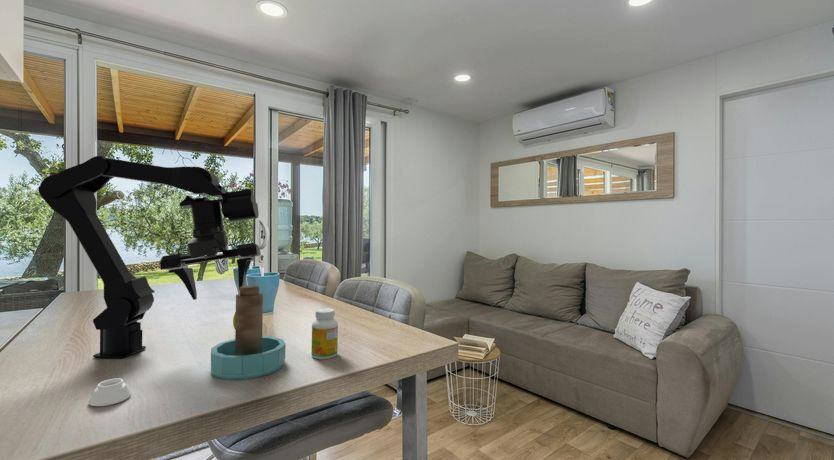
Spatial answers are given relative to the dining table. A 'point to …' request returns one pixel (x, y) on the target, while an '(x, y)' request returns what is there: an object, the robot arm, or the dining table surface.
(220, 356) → the bowl
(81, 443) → the dining table surface
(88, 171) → the robot arm
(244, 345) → the pepper mill
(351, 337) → the dining table surface
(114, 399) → the lidless jar
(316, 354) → the supplement bottle
